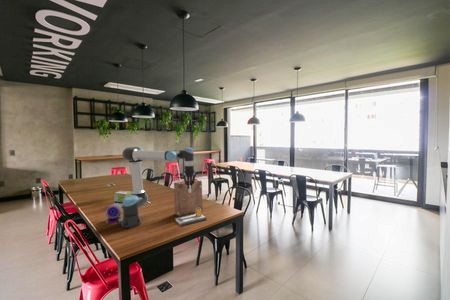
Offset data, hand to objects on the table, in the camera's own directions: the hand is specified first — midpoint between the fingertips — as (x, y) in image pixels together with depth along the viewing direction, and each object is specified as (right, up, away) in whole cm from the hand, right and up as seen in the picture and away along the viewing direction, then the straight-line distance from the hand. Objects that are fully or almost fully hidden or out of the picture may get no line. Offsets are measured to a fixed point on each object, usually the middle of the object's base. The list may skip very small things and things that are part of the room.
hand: (189, 192), depth 187 cm
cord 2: (+5, -25, -5) cm, 26 cm away
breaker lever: (+7, -22, +5) cm, 23 cm away
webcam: (-67, -26, +2) cm, 72 cm away
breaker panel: (0, -24, +1) cm, 24 cm away
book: (-4, -24, +21) cm, 32 cm away
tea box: (-80, -24, +46) cm, 95 cm away
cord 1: (-4, -24, +8) cm, 26 cm away
